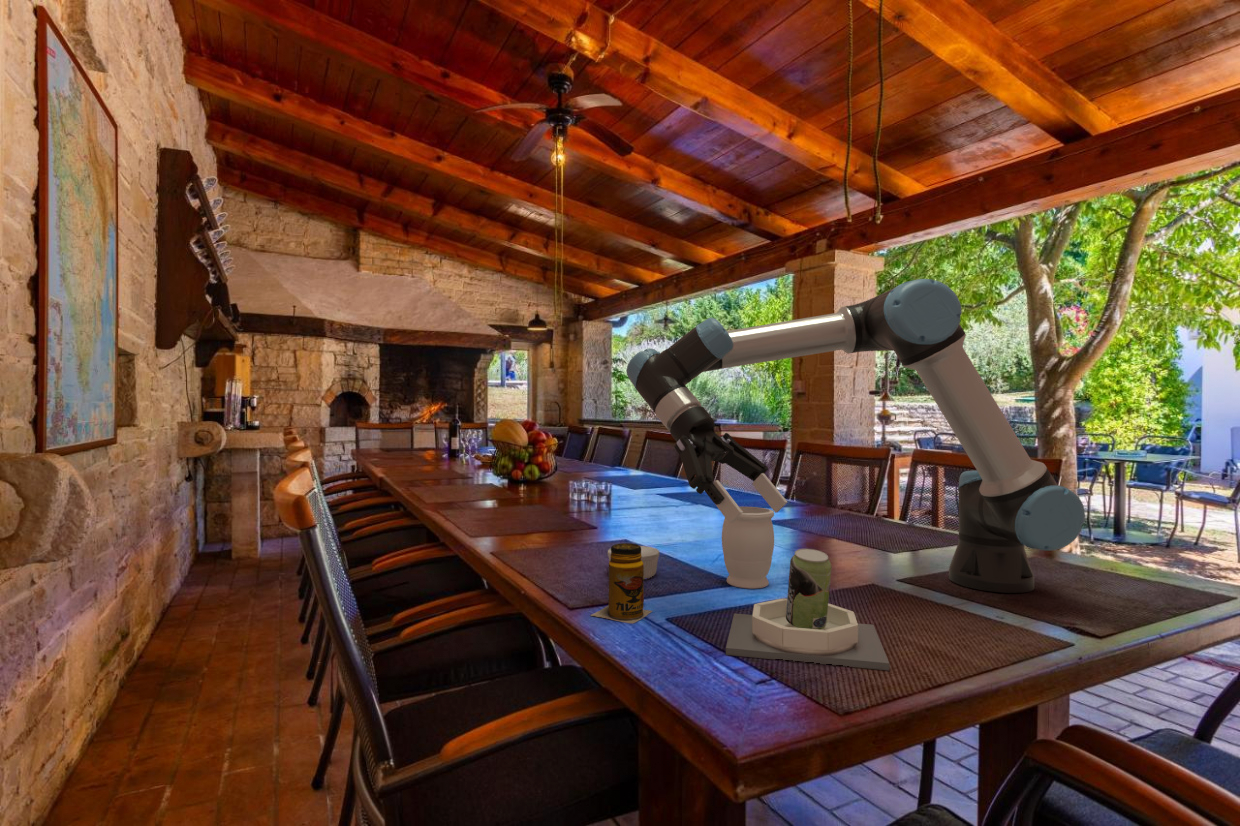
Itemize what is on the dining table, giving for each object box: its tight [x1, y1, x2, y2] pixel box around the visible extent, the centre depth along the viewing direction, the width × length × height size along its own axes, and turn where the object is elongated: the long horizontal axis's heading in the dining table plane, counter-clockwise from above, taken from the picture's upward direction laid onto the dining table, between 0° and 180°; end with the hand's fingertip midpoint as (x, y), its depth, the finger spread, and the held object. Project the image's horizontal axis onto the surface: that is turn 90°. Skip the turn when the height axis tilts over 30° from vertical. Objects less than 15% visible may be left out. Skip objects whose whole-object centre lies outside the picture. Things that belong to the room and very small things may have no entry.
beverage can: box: [786, 548, 832, 630], centre depth 98 cm, size 6×7×12 cm
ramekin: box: [607, 545, 660, 580], centre depth 137 cm, size 11×11×5 cm
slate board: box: [725, 612, 890, 672], centre depth 98 cm, size 22×16×1 cm
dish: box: [751, 598, 859, 655], centre depth 98 cm, size 15×15×3 cm
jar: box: [721, 506, 775, 590], centre depth 130 cm, size 11×10×15 cm
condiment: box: [590, 542, 653, 624], centre depth 111 cm, size 7×8×12 cm
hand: (760, 512), depth 104 cm, fingers open, 13 cm apart
